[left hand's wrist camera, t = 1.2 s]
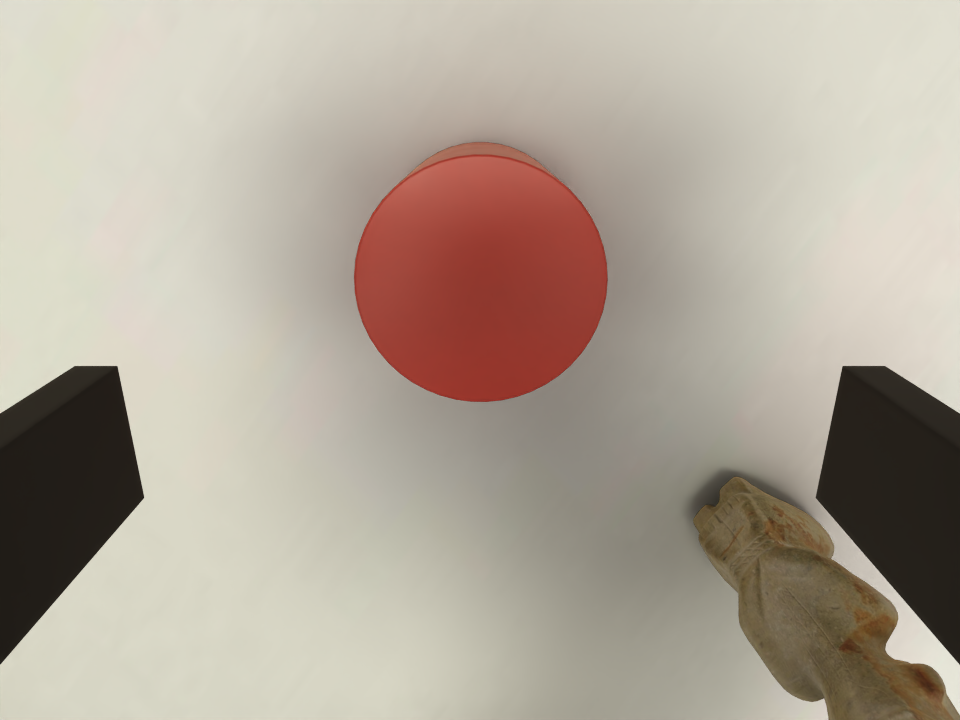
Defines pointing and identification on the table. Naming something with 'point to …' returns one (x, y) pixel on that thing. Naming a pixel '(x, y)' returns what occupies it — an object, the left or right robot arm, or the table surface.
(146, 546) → the table surface
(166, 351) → the table surface
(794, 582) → the sculpture
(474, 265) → the canister
